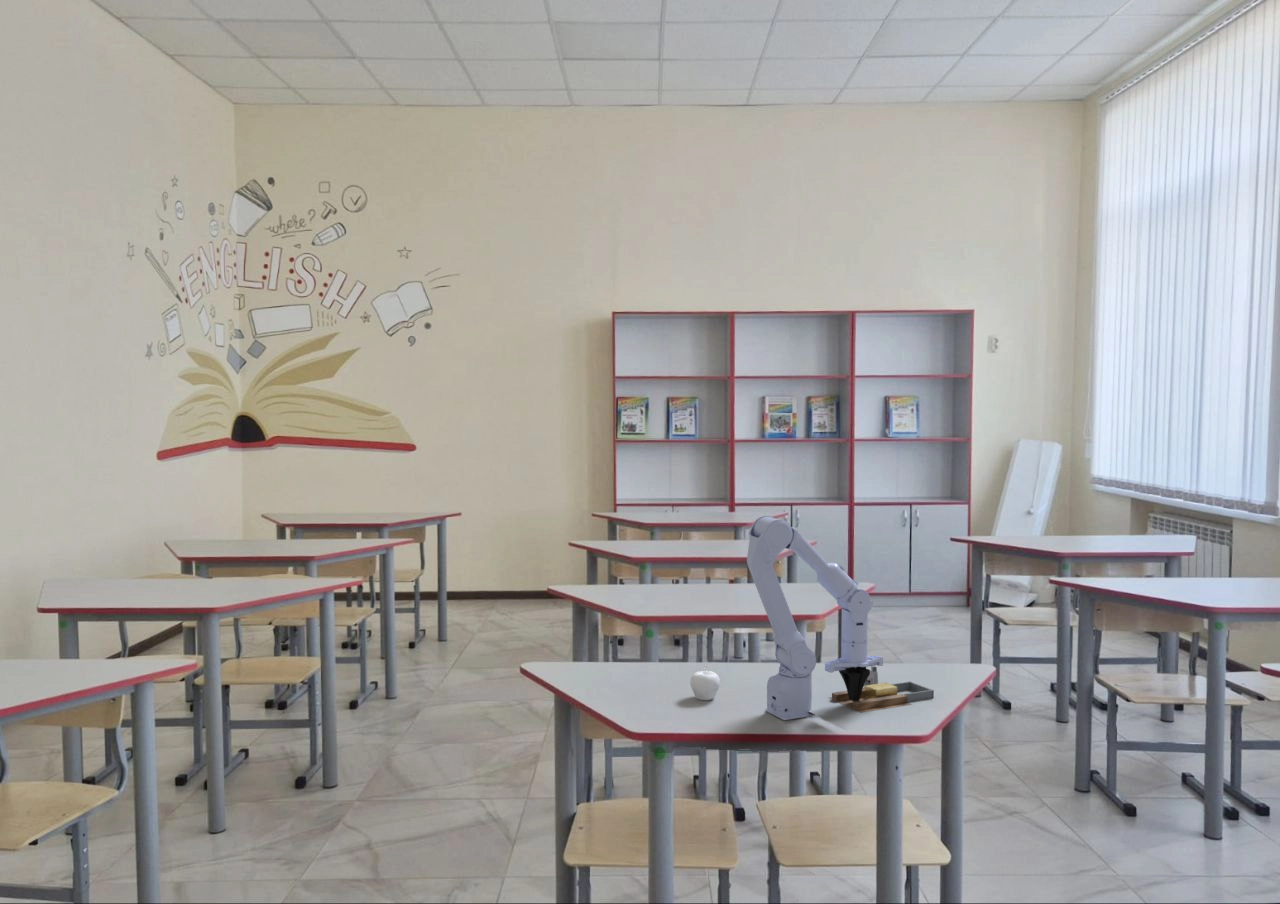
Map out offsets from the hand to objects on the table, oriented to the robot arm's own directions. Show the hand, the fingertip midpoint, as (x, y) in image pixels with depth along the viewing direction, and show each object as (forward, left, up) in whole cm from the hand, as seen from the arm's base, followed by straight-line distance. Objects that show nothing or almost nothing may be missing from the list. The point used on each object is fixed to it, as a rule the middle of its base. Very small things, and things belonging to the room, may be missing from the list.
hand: (854, 700), depth 211 cm
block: (+7, 0, -1) cm, 8 cm away
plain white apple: (-27, +21, -2) cm, 34 cm away
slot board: (+4, 0, -2) cm, 5 cm away
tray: (+15, 0, -2) cm, 15 cm away
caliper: (+16, +17, -2) cm, 24 cm away
